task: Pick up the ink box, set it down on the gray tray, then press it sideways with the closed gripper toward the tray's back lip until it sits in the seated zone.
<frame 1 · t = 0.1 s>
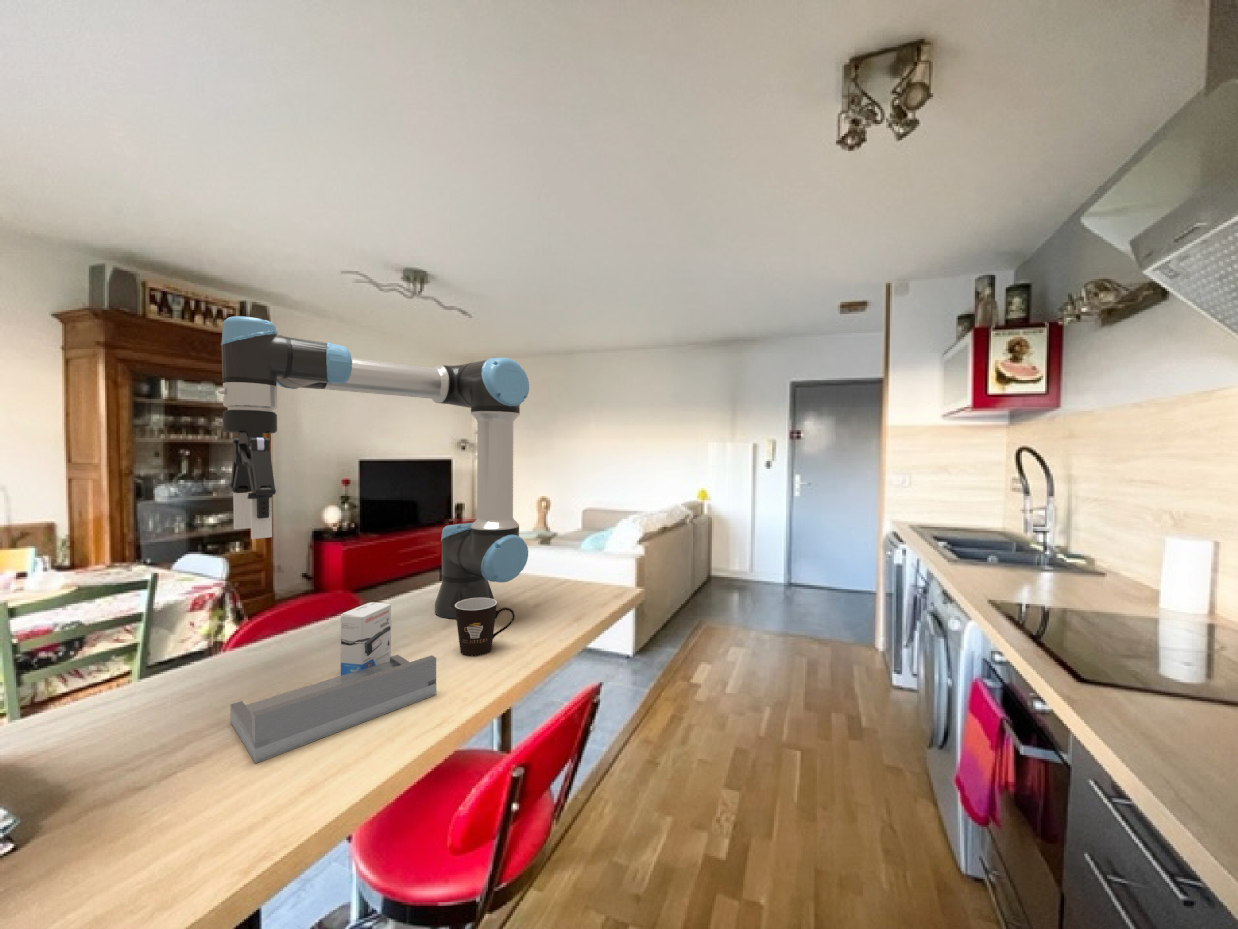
hand: (252, 533, 86), 28 cm above the table, fingers open, 13 cm apart
ink box: (366, 669, 97), on the table
gray tray: (339, 707, 82), on the table
coffee mug: (482, 652, 106), on the table
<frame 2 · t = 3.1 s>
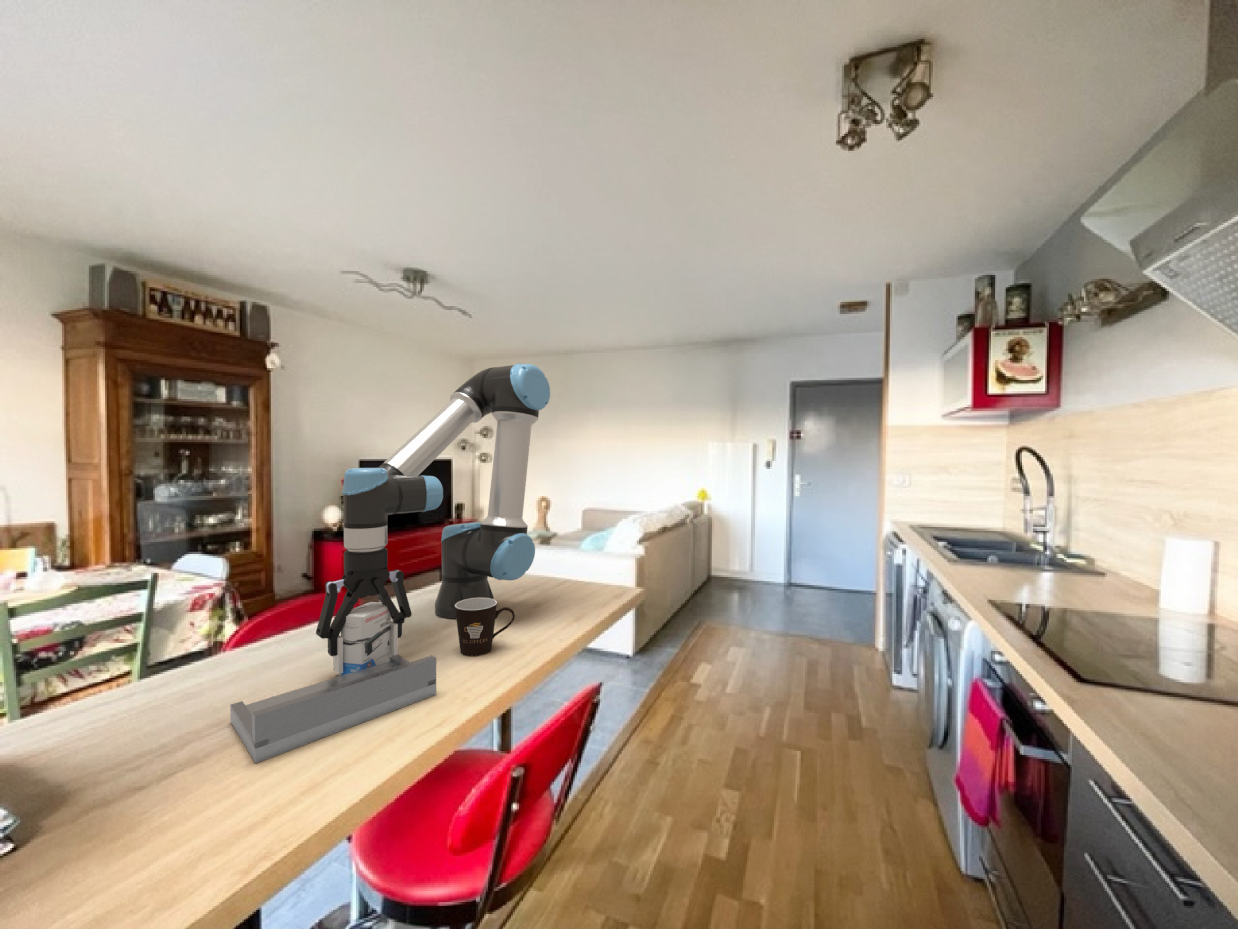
hand: (366, 662, 97), 1 cm above the table, fingers closed on ink box, 9 cm apart
ink box: (366, 669, 97), on the table, touching gripper
everything else where it was.
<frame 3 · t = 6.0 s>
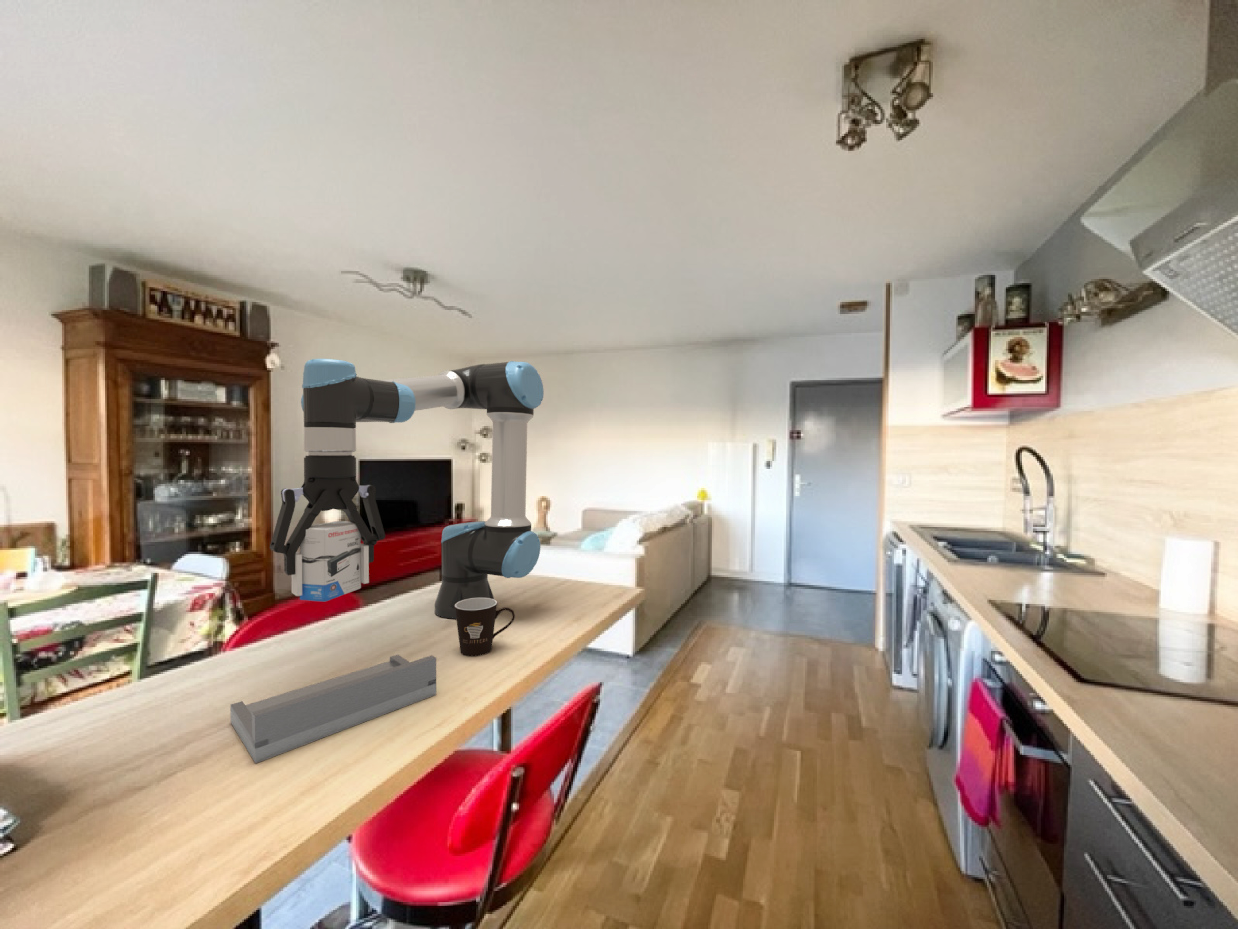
hand: (331, 587, 84), 19 cm above the table, fingers closed on ink box, 9 cm apart
ink box: (331, 595, 84), point 18 cm above the table, touching gripper
everything else where it was.
when the fingers open (5 cm above the table, at t = 9.2 s): ink box drops 1 cm, resting on gray tray.
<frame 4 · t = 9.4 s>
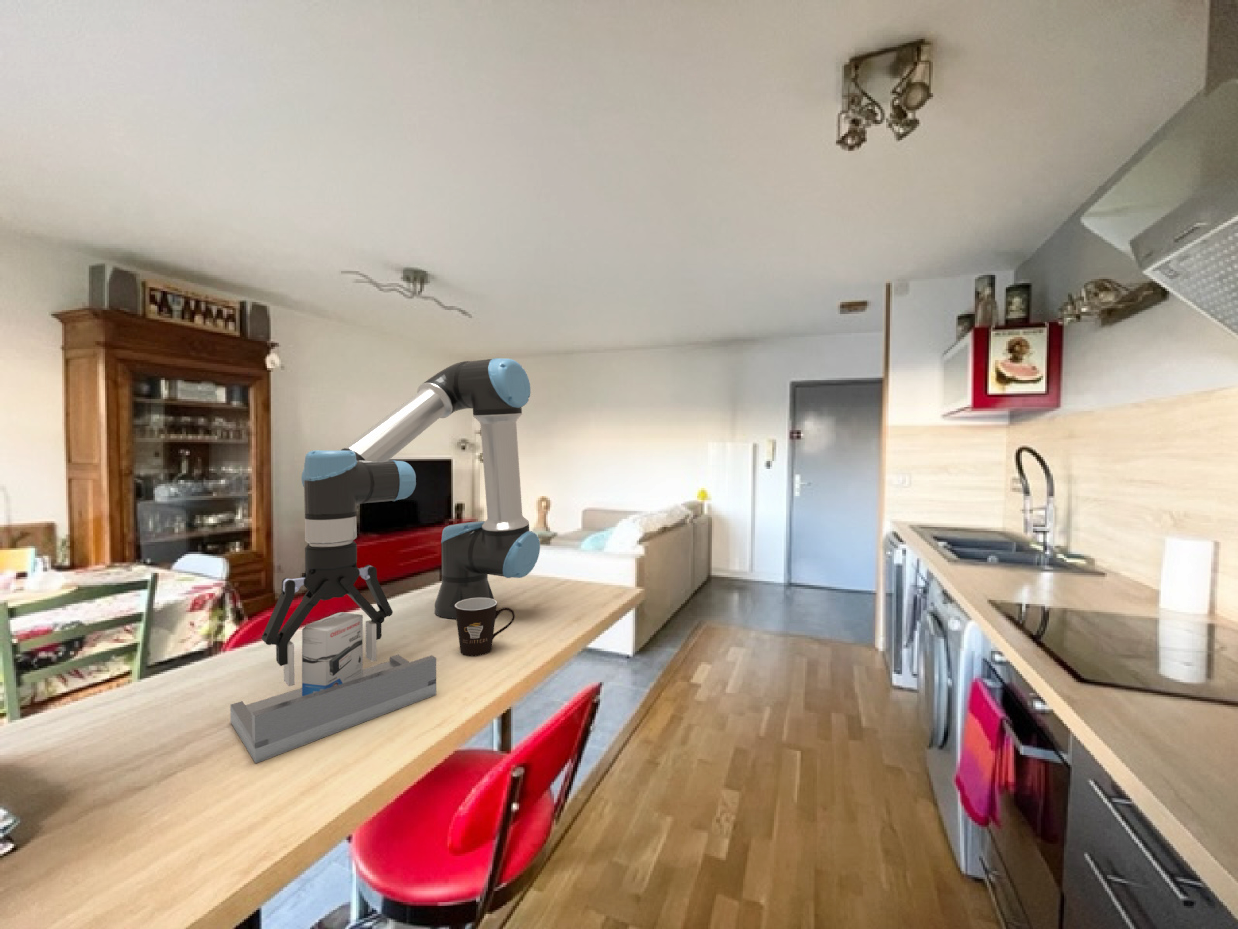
hand: (332, 670, 84), 5 cm above the table, fingers open, 12 cm apart
ink box: (333, 690, 84), point 2 cm above the table, touching gray tray
everything else where it was.
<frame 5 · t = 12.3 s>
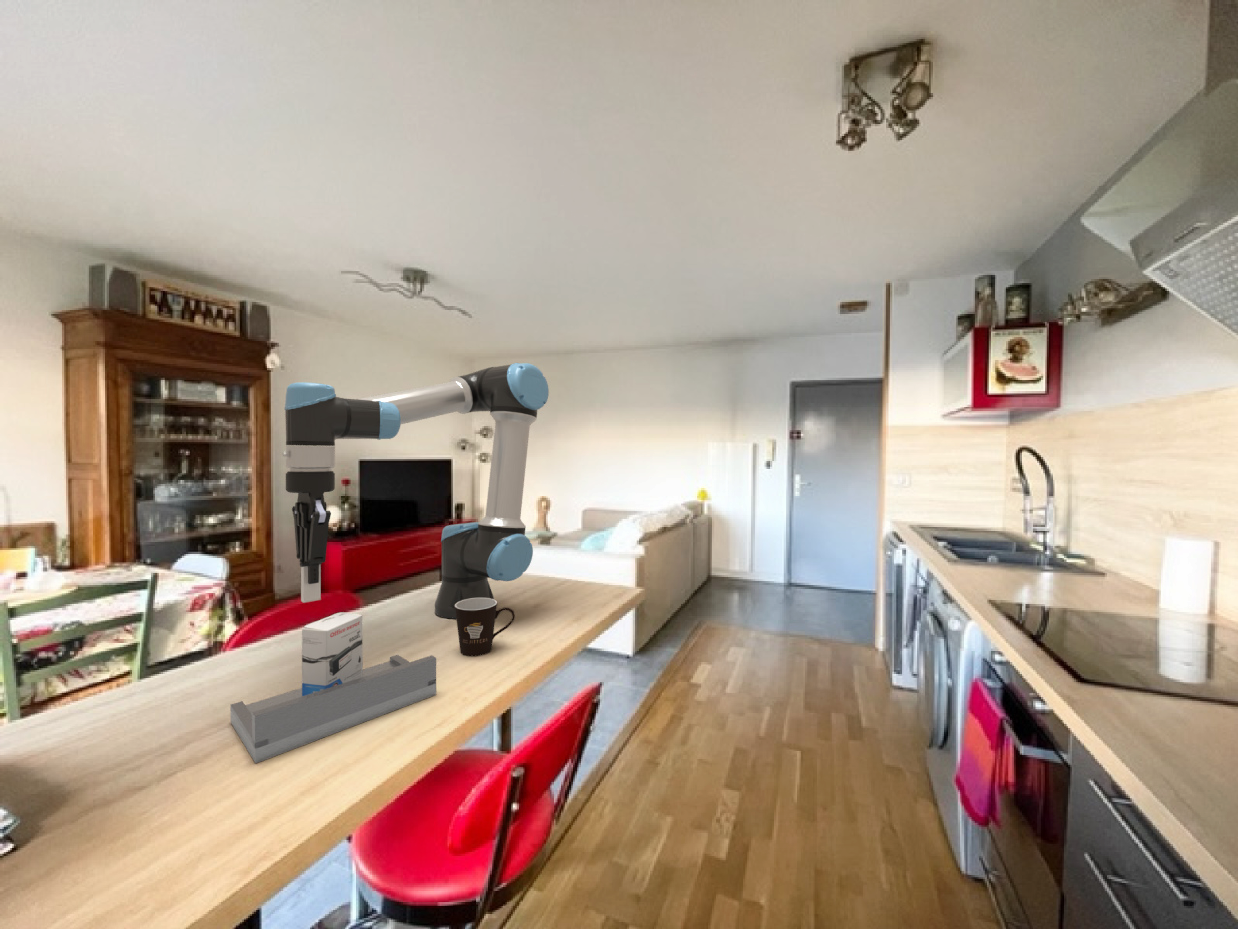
hand: (310, 600, 90), 15 cm above the table, fingers closed
nothing on the table moved.
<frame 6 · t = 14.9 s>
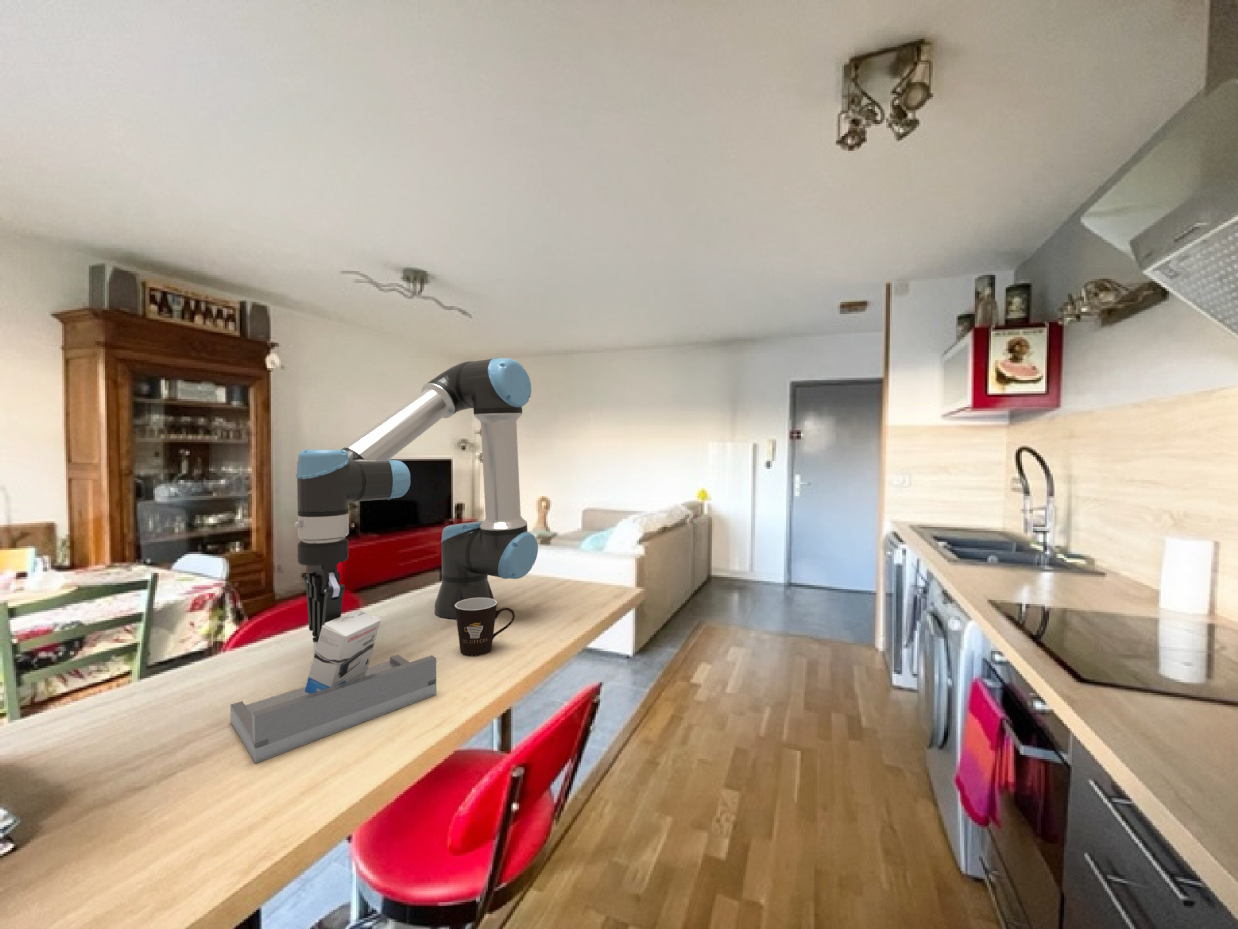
hand: (324, 674, 86), 4 cm above the table, fingers closed
ink box: (335, 687, 84), point 2 cm above the table, touching gripper, gray tray
everything else where it was.
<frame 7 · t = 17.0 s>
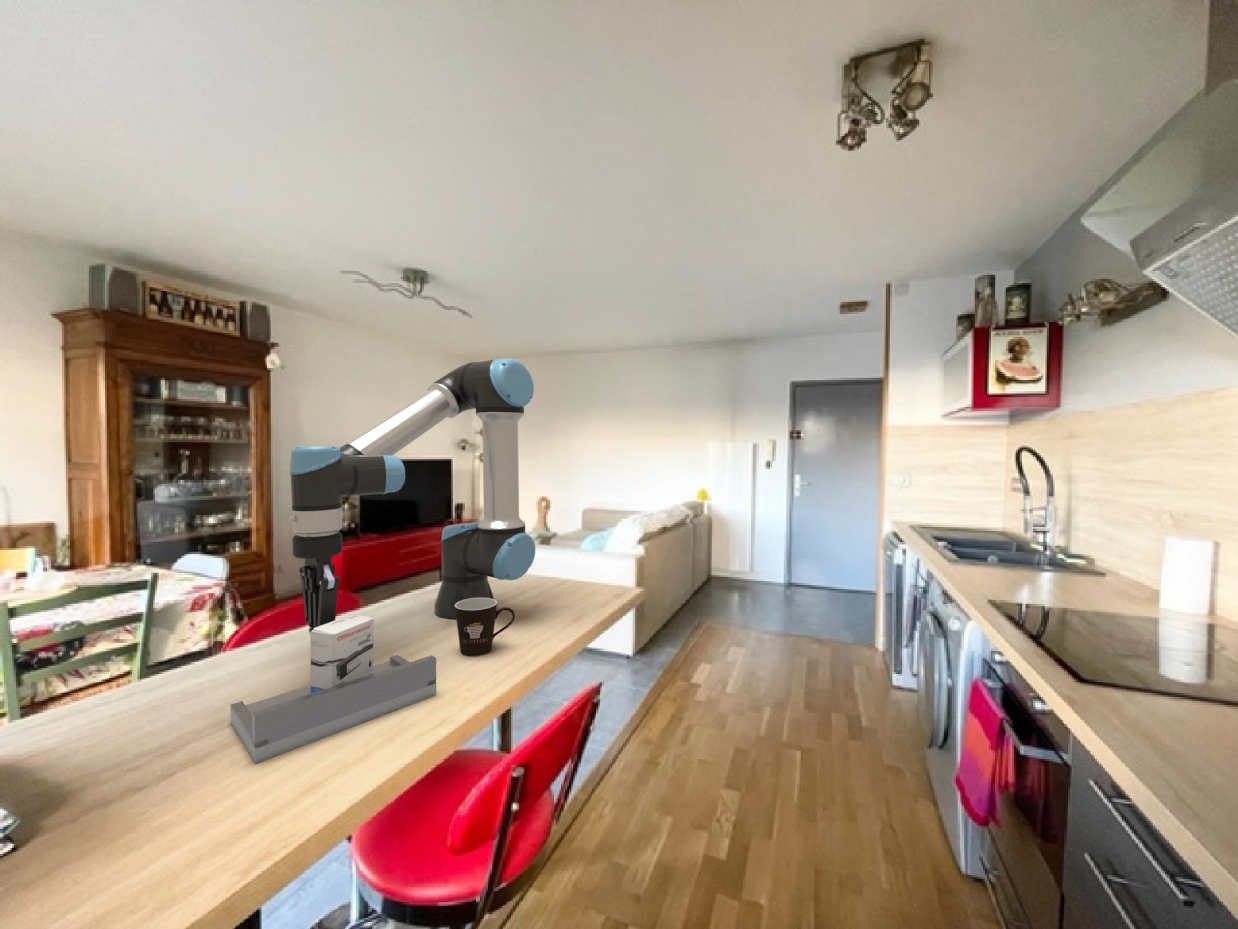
hand: (320, 664, 89), 4 cm above the table, fingers closed
ink box: (343, 694, 83), point 2 cm above the table, touching gray tray
everything else where it was.
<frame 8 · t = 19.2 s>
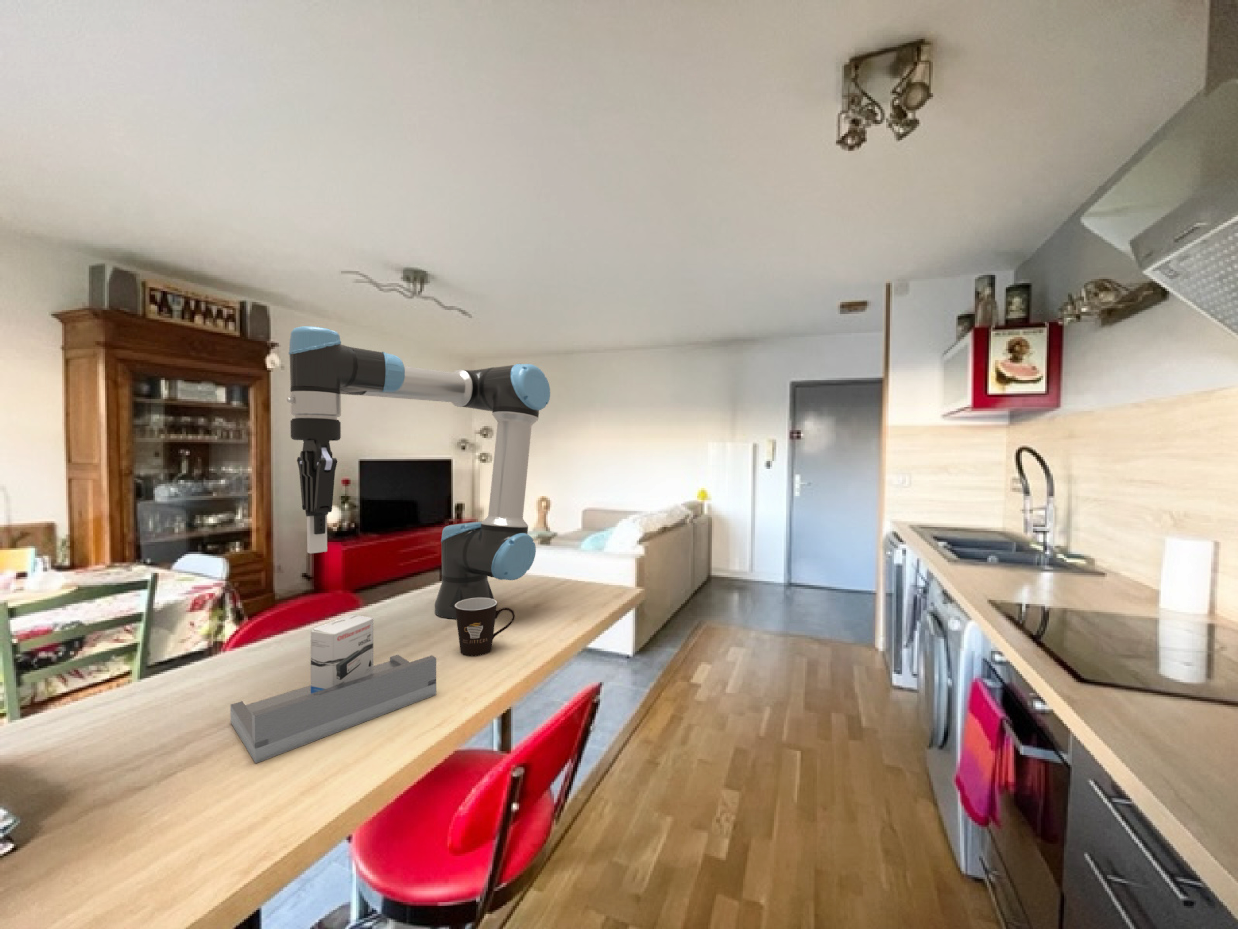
hand: (317, 551, 88), 24 cm above the table, fingers closed
nothing on the table moved.
at the end: ink box inside the target area on the gray tray (0.9 cm from its centre), point 1.8 cm above the gray tray's base; ink box tilted 0°; ink box touching gray tray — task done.
